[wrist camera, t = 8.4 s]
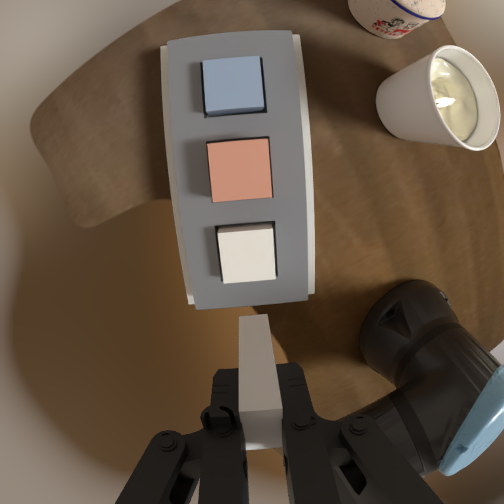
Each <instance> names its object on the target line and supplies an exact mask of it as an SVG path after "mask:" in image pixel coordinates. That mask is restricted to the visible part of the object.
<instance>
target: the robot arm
mask: <svg viewBox="0 0 504 504" xmlns="http://www.w3.org/2000/svg"><path fill="white" fill-rule="evenodd" d="M359 346H360V350H361V353H362V355H363V357H364V359H365V360H366V362H367V364H368V365H369V366H370V367H371V368H372V369H373V370H374V371H376V372H377V373H379V374H381V375H382V376H383V377H385V378H386V379H387V380H388V381H390V382H391V383H392V384H394V385H395V387H396V388H397V389H396V390H395V391H393V392H391V393H389V394H387V395H386V396H384V397H382V398H380V399H378V400H377V401H375V402H373V403H371V404H369V405H367V406H365V407H363V408H361V409H359V410H357V411H355V412H353V413H351V414H349V415H347V416H345V417H343V418H340V419H338V420H336V421H331V420H326V419H323V418H321V417H320V416H318V415H317V414H316V413H315V411H314V409H313V406H312V402H311V398H310V395H309V391H308V387H307V383H306V380H305V376H304V372H303V369H302V368H301V367H300V366H299V365H298V364H297V363H296V362H293V363H285V364H275V358H274V352H273V346H272V340H271V333H270V327H269V321H268V315H267V314H260V315H249V316H239V368H235V369H218V371H217V372H216V374H215V375H214V377H213V387H212V395H211V405H210V406H209V407H207V408H205V409H204V410H203V411H202V413H201V416H200V418H201V421H202V424H203V427H204V428H203V429H201V430H200V431H197V432H194V433H191V434H186V435H181V434H180V433H178V432H176V431H170V430H167V431H162V432H160V433H158V434H156V435H155V436H154V437H153V438H152V440H151V442H150V444H149V445H148V447H147V449H146V450H145V452H144V454H143V456H142V458H141V459H140V461H139V462H138V464H137V466H136V468H135V469H134V471H133V473H132V475H131V476H130V478H129V480H128V482H127V483H126V485H125V487H124V489H123V490H122V492H121V494H120V496H119V497H118V499H117V501H116V502H115V504H189V503H190V501H191V498H192V496H193V493H194V491H195V488H196V486H197V483H198V481H199V478H200V486H199V499H198V504H249V492H248V467H247V458H246V450H253V449H267V448H277V447H283V452H284V466H285V473H286V480H287V487H288V496H289V503H290V504H444V503H443V502H442V501H441V500H440V499H439V498H438V496H437V495H436V494H435V493H434V492H433V491H432V489H431V488H430V487H429V486H428V484H427V483H426V482H425V481H424V480H423V479H422V478H423V477H425V476H427V475H428V474H430V473H432V472H433V471H435V470H437V469H439V471H440V473H442V474H444V475H446V476H450V475H452V474H455V473H456V472H457V471H459V470H460V469H463V468H464V467H466V466H467V465H469V464H470V463H471V462H472V461H473V460H475V459H476V458H477V457H478V456H479V455H480V454H481V453H482V452H483V451H485V449H487V447H488V446H489V445H490V444H491V443H492V442H493V441H494V440H495V439H496V438H497V436H498V435H499V434H500V433H501V431H502V430H503V429H504V365H502V364H501V363H499V362H498V361H497V359H496V358H495V357H494V356H493V355H491V353H490V352H489V351H488V350H487V349H486V348H485V347H484V346H482V345H481V344H480V343H479V342H478V341H477V340H476V339H475V338H474V337H473V336H472V335H471V334H470V333H469V332H468V331H467V330H466V329H465V328H463V327H462V326H461V325H460V324H459V321H458V319H457V317H456V315H455V313H454V312H453V310H452V309H451V305H450V302H449V300H448V298H447V297H446V295H445V294H444V293H443V292H442V291H441V290H440V289H438V288H437V287H436V286H435V285H433V284H432V283H430V282H427V281H420V280H418V281H410V282H407V283H404V284H402V285H399V286H397V287H396V288H394V289H392V290H391V291H389V292H388V293H387V294H386V295H384V296H383V297H382V298H381V299H380V300H379V301H378V302H377V303H376V304H375V305H374V307H373V308H372V309H371V311H370V312H369V314H368V315H367V317H366V319H365V321H364V323H363V326H362V328H361V332H360V338H359Z"/></svg>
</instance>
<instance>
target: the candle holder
mask: <svg viewBox="0 0 504 504" xmlns="http://www.w3.org/2000/svg"><path fill="white" fill-rule="evenodd" d="M376 108H377V112H378V115H379V117H380V119H381V121H382V123H383V125H384V126H385V127H386V129H387V130H388V131H389V132H390V133H392V134H393V135H394V136H396V137H398V138H400V139H402V140H406V141H412V142H421V143H430V144H438V145H446V146H453V147H460V148H466V149H469V150H474V151H479V150H483V149H485V148H487V147H489V146H490V145H491V144H492V143H493V141H494V140H495V138H496V136H497V133H498V130H499V125H500V106H499V100H498V96H497V93H496V90H495V87H494V85H493V82H492V80H491V79H490V76H489V75H488V73H487V71H486V70H485V68H484V67H483V66H482V64H481V63H480V62H479V61H478V60H477V59H476V58H475V57H474V56H473V55H471V54H470V53H469V52H468V51H466V50H464V49H462V48H460V47H457V46H453V45H445V46H442V47H439V48H438V49H436V50H435V51H434V52H432V53H430V54H428V55H426V56H424V57H423V58H421V59H419V60H417V61H415V62H414V63H412V64H410V65H408V66H406V67H405V68H403V69H401V70H400V71H398V72H396V73H394V74H393V75H391V76H390V77H388V78H387V79H385V80H384V81H383V82H382V83H381V85H380V86H379V88H378V90H377V94H376Z"/></svg>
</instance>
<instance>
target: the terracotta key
mask: <svg viewBox="0 0 504 504" xmlns="http://www.w3.org/2000/svg"><path fill="white" fill-rule="evenodd" d="M207 146H208V157H209V168H210V178H211V189H212V198H213V202H223V201H234V200H245V199H257V198H271V197H272V188H271V173H270V159H269V146H268V139H255V140H241V141H230V142H220V143H211V144H207Z"/></svg>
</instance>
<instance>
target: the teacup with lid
mask: <svg viewBox="0 0 504 504" xmlns="http://www.w3.org/2000/svg"><path fill="white" fill-rule="evenodd" d="M348 6H349V9H350V11H351V13H352V15H353V16H354V18H355V19H356V20H357V21H358V23H359V24H360V25H362V26H363V27H364V28H365V29H367V30H368V31H370V32H371V33H373V34H375V35H377V36H380V37H383V38H387V39H397V38H400V37H402V36H404V35H406V34H407V33H409V32H411V31H412V30H414V29H416V28H417V27H419V26H421V25H422V24H424V23H426V22H428V21H429V20H435V19H438V18H440V17H441V15H442V14H443V12H444V10H445V0H348Z"/></svg>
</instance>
